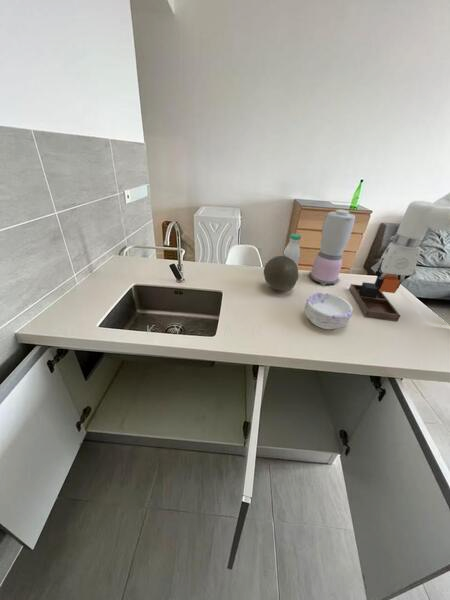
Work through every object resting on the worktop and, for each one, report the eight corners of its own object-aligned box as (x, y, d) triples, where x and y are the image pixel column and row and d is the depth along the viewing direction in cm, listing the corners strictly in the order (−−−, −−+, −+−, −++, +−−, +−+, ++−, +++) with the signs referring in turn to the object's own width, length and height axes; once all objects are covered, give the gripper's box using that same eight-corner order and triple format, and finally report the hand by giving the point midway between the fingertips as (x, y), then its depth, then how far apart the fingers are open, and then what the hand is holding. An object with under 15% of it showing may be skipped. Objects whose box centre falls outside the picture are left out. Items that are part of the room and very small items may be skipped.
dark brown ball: (282, 280, 114) (288, 250, 106) (301, 295, 103) (309, 262, 95) (256, 284, 110) (260, 253, 102) (272, 300, 98) (278, 266, 91)
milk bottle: (297, 274, 121) (306, 234, 111) (292, 279, 116) (301, 238, 105) (282, 270, 125) (290, 231, 114) (277, 275, 119) (284, 235, 108)
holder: (375, 292, 109) (378, 287, 108) (397, 321, 90) (400, 315, 89) (349, 289, 110) (350, 284, 109) (364, 317, 92) (367, 311, 90)
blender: (341, 285, 113) (366, 214, 97) (319, 287, 110) (340, 214, 94) (322, 271, 126) (340, 206, 110) (301, 272, 123) (316, 206, 107)
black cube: (370, 293, 106) (375, 283, 104) (375, 299, 102) (379, 289, 100) (359, 292, 107) (362, 282, 104) (362, 297, 103) (366, 287, 100)
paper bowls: (337, 341, 79) (345, 321, 74) (294, 321, 87) (299, 302, 83) (352, 321, 89) (359, 303, 84) (312, 305, 97) (317, 287, 93)
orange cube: (389, 286, 92) (394, 275, 90) (394, 293, 88) (400, 281, 86) (375, 285, 93) (380, 273, 90) (380, 291, 89) (385, 279, 86)
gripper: (384, 241, 79) (364, 290, 88) (441, 247, 77) (414, 296, 86) (376, 235, 85) (358, 281, 95) (428, 240, 83) (404, 286, 93)
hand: (385, 288), depth 90 cm, fingers closed on orange cube, 5 cm apart
